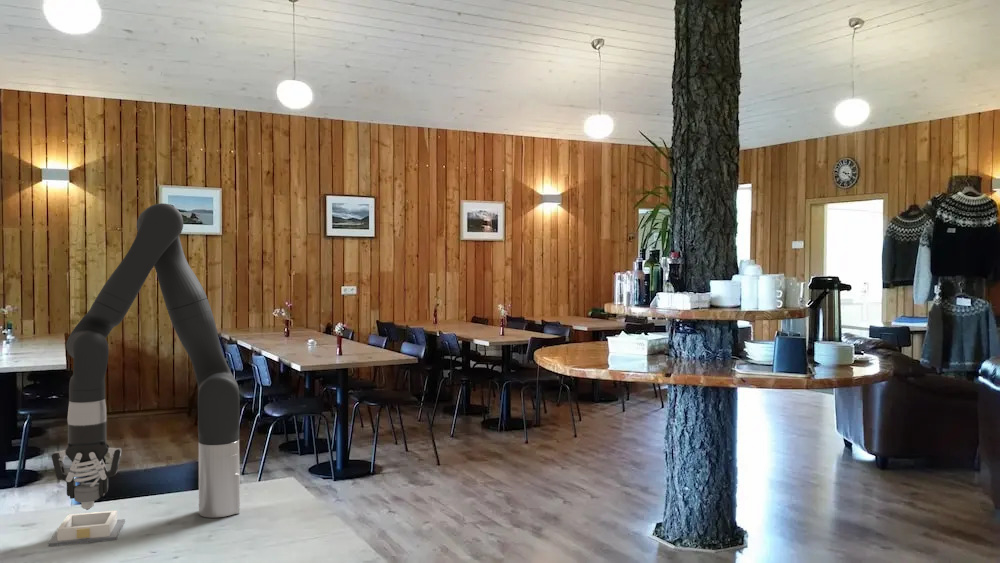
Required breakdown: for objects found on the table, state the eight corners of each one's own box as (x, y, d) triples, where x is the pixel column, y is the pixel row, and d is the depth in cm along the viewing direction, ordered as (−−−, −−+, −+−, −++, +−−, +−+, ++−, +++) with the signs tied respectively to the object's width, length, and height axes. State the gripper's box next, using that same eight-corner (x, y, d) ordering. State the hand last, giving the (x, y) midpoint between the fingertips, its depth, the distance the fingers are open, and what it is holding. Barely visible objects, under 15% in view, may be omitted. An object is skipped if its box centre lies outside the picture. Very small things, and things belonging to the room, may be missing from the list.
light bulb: (107, 507, 172) (107, 454, 172) (86, 515, 167) (86, 460, 166) (88, 504, 174) (88, 451, 174) (67, 512, 169) (66, 457, 168)
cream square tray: (117, 521, 176) (117, 510, 176) (108, 536, 166) (108, 525, 166) (68, 525, 173) (68, 514, 173) (56, 541, 163) (56, 530, 163)
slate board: (125, 521, 178) (125, 519, 178) (116, 539, 166) (116, 537, 166) (61, 527, 174) (61, 524, 174) (48, 546, 163) (48, 543, 163)
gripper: (126, 415, 175) (126, 489, 176) (55, 418, 171) (55, 494, 172) (120, 422, 168) (120, 499, 169) (46, 425, 164) (46, 504, 164)
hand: (87, 496), depth 170 cm, fingers closed on light bulb, 5 cm apart
